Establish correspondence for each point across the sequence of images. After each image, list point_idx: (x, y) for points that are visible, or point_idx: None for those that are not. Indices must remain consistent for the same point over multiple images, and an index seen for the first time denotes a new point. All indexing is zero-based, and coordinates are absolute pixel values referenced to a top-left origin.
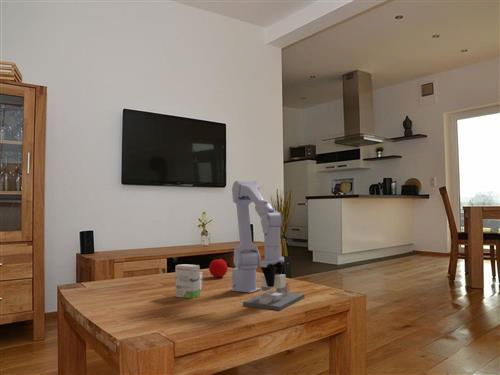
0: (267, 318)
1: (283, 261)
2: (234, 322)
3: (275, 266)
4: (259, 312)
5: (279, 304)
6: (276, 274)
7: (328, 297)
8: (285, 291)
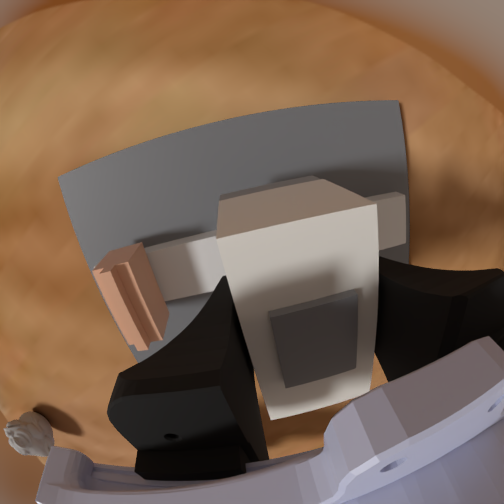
0: (475, 101)
1: (68, 456)
2: None
3: (255, 431)
4: (447, 169)
5: (368, 125)
6: (332, 299)
7: (7, 95)
8: (145, 254)
